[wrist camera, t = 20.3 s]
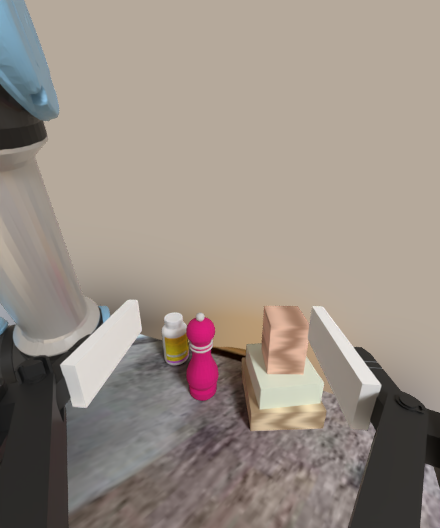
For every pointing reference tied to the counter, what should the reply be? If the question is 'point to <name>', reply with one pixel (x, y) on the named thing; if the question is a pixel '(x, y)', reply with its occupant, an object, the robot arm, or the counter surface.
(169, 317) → the supplement bottle
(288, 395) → the sage top block
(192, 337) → the pepper mill
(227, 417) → the counter surface
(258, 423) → the oak base block
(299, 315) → the clay pillar block
